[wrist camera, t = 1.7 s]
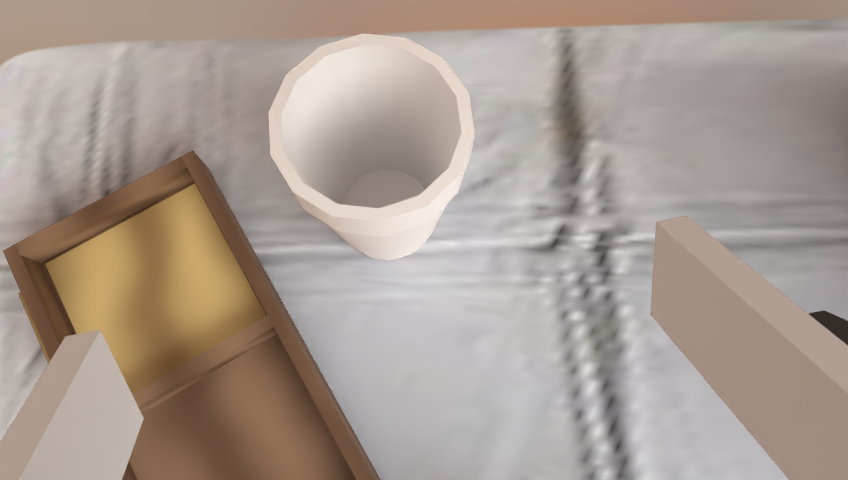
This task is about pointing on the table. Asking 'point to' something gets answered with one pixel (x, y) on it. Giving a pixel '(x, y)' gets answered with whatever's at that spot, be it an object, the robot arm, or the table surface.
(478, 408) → the table surface
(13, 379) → the table surface
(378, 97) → the foam cup
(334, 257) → the table surface
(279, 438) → the compartment tray
